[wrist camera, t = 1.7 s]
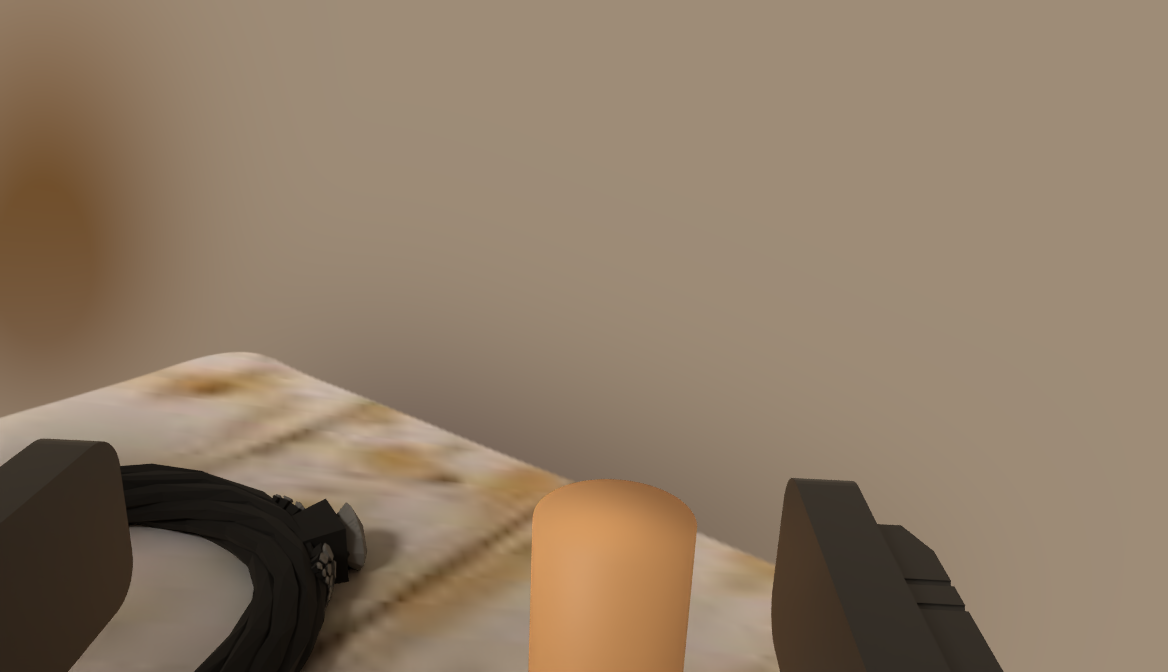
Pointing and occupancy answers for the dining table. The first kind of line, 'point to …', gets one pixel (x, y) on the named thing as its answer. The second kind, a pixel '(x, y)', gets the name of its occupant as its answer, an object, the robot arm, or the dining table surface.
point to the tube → (610, 579)
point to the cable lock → (256, 557)
